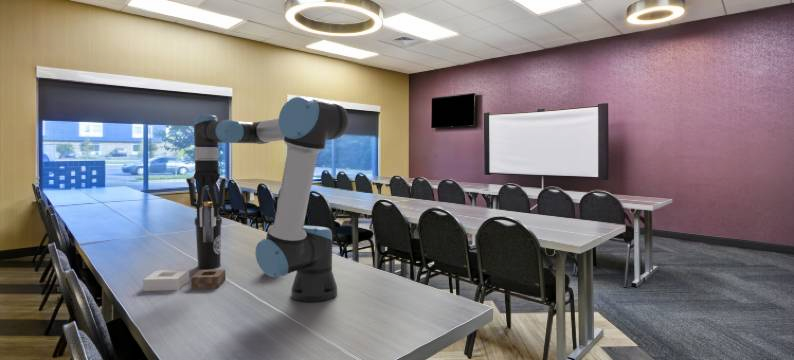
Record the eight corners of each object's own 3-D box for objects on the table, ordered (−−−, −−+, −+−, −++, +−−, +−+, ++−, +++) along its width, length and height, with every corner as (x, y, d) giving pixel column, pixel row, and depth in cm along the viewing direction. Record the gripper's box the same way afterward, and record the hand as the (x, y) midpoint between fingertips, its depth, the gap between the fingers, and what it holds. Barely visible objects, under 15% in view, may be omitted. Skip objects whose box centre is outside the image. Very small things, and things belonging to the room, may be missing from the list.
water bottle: (216, 269, 168) (215, 212, 166) (190, 269, 168) (189, 212, 166) (226, 263, 178) (225, 209, 176) (202, 262, 178) (201, 208, 176)
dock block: (189, 280, 154) (189, 269, 154) (177, 290, 143) (177, 278, 143) (157, 280, 153) (157, 270, 153) (143, 291, 142) (143, 279, 142)
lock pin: (214, 240, 151) (213, 201, 150) (211, 242, 148) (210, 202, 147) (205, 240, 150) (204, 201, 149) (202, 242, 147) (201, 202, 146)
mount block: (225, 280, 155) (225, 269, 155) (218, 288, 146) (218, 276, 146) (199, 280, 154) (199, 270, 154) (191, 288, 145) (191, 277, 145)
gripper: (233, 159, 152) (234, 223, 153) (186, 159, 149) (187, 224, 151) (228, 160, 144) (229, 227, 146) (178, 159, 142) (179, 228, 144)
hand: (208, 225), depth 148 cm, fingers closed on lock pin, 3 cm apart
